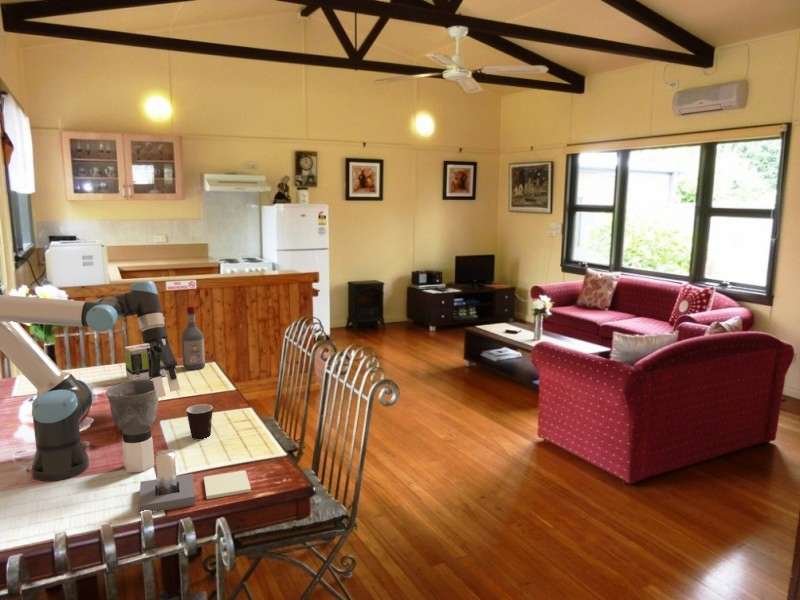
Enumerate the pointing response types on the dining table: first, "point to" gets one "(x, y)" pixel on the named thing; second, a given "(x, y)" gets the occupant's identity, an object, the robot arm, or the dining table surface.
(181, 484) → the grey square base
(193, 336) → the liquor
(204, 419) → the coffee mug
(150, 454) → the jar
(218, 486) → the cream square tile
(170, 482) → the steel peg
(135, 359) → the tea box
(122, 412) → the grey tapered pot
